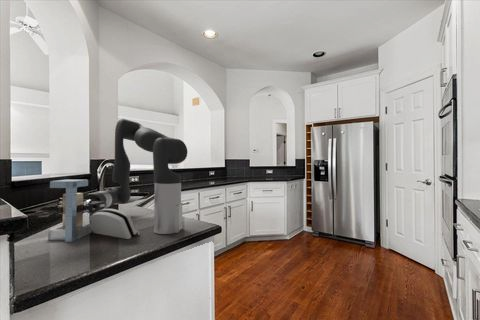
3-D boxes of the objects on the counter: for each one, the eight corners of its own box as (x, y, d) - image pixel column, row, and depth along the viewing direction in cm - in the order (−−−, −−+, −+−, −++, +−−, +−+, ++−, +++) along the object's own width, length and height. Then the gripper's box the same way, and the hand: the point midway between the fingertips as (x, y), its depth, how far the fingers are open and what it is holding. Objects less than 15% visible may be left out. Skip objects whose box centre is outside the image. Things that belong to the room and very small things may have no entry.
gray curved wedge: (140, 234, 82) (133, 208, 79) (129, 243, 78) (121, 216, 74) (105, 229, 88) (97, 204, 85) (94, 236, 84) (85, 211, 81)
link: (82, 227, 83) (83, 192, 83) (74, 231, 79) (75, 194, 79) (70, 227, 82) (71, 192, 83) (62, 231, 78) (62, 194, 79)
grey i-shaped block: (92, 232, 84) (92, 179, 84) (71, 242, 74) (72, 181, 74) (67, 232, 84) (68, 178, 84) (42, 242, 73) (44, 181, 74)
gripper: (79, 191, 95) (44, 198, 78) (115, 192, 95) (89, 198, 78) (79, 210, 95) (44, 221, 78) (115, 211, 95) (89, 221, 78)
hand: (67, 210), depth 78 cm, fingers closed on link, 4 cm apart
